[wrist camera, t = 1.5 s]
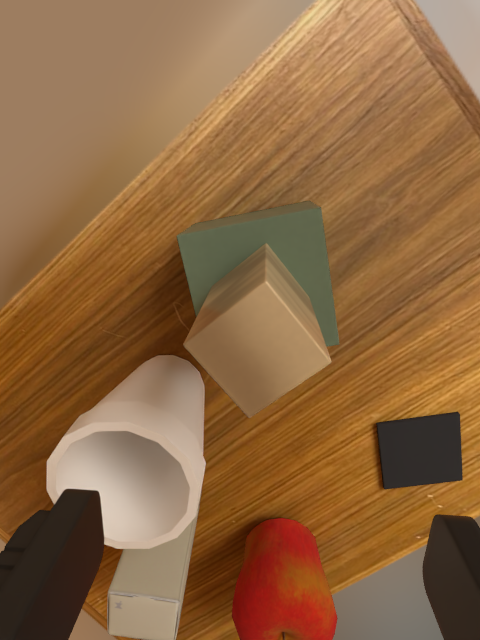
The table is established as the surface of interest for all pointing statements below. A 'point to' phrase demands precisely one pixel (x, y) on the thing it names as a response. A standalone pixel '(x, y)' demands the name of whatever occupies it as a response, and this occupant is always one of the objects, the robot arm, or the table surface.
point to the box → (150, 589)
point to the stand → (247, 237)
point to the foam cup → (139, 454)
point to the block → (258, 333)
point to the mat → (420, 450)
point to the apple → (282, 586)
